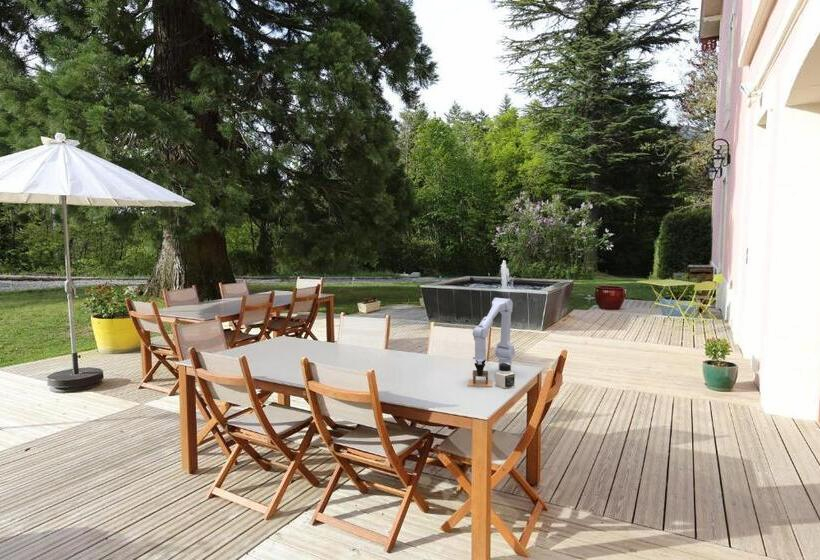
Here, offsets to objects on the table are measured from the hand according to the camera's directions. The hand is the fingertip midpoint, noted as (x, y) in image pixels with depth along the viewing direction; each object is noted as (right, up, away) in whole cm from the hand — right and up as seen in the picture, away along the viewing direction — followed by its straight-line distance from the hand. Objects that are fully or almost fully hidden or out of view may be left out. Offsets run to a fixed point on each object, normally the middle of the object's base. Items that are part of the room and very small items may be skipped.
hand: (480, 374), depth 282 cm
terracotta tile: (0, -5, 0) cm, 5 cm away
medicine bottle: (+12, -6, -4) cm, 14 cm away
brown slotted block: (0, -5, 0) cm, 5 cm away
